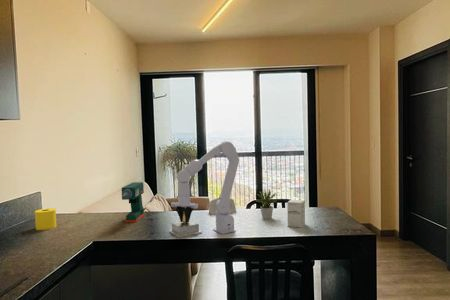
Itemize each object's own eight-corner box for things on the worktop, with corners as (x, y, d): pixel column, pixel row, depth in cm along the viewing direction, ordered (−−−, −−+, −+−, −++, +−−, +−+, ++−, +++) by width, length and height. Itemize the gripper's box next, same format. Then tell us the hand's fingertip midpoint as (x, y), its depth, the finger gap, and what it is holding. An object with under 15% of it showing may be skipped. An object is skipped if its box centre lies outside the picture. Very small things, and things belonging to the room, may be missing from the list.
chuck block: (201, 233, 168) (201, 224, 168) (178, 237, 162) (178, 228, 162) (191, 227, 179) (191, 219, 179) (169, 231, 173) (169, 222, 173)
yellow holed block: (47, 230, 183) (46, 212, 183) (31, 229, 185) (30, 212, 185) (60, 225, 193) (59, 208, 193) (44, 224, 195) (43, 208, 195)
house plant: (280, 221, 185) (279, 191, 185) (254, 221, 187) (253, 191, 187) (280, 215, 199) (279, 187, 199) (256, 215, 201) (255, 187, 201)
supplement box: (287, 226, 176) (286, 201, 175) (291, 223, 183) (291, 199, 182) (301, 227, 173) (301, 202, 172) (305, 224, 179) (305, 199, 179)
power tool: (130, 228, 182) (128, 190, 181) (117, 228, 182) (115, 190, 181) (145, 214, 213) (144, 182, 213) (134, 214, 214) (133, 182, 213)
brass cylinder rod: (188, 226, 171) (187, 210, 171) (186, 227, 169) (185, 211, 169) (184, 226, 172) (183, 210, 172) (181, 227, 170) (181, 211, 170)
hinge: (209, 214, 207) (208, 198, 210) (208, 215, 212) (207, 199, 215) (237, 212, 210) (235, 196, 213) (235, 213, 215) (234, 197, 217)
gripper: (200, 193, 170) (201, 221, 171) (175, 192, 176) (176, 219, 177) (193, 196, 164) (194, 224, 164) (167, 194, 170) (169, 222, 171)
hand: (184, 222), depth 170 cm, fingers closed on brass cylinder rod, 2 cm apart
